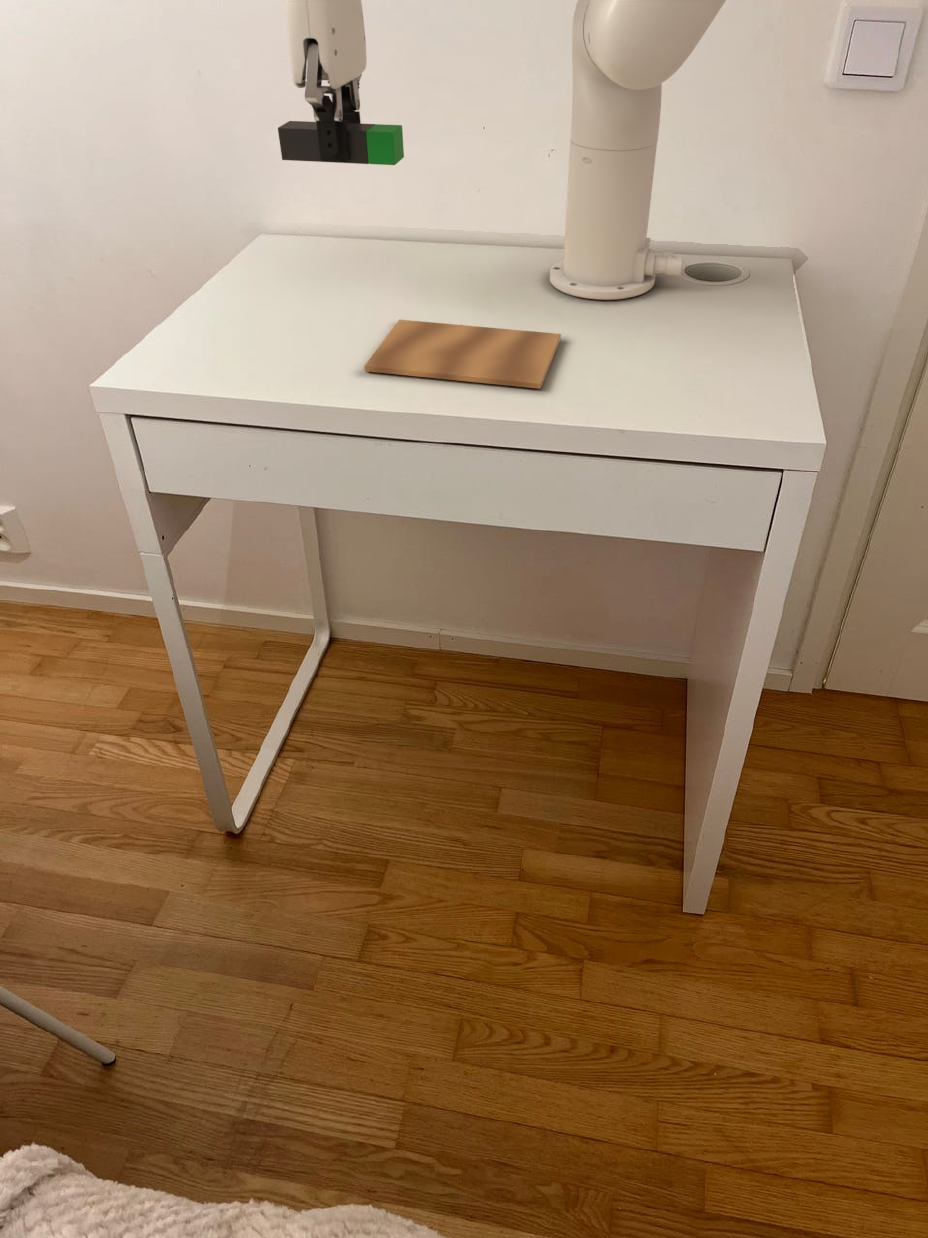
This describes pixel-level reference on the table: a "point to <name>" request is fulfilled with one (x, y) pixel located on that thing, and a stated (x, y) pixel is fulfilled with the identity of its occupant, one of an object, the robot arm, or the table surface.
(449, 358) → the wooden board
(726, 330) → the table surface
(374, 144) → the marker
